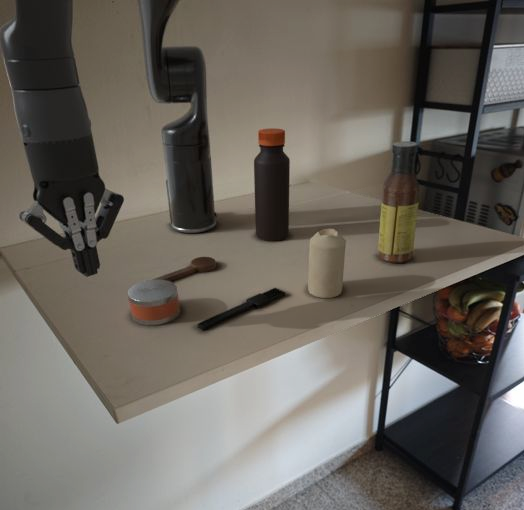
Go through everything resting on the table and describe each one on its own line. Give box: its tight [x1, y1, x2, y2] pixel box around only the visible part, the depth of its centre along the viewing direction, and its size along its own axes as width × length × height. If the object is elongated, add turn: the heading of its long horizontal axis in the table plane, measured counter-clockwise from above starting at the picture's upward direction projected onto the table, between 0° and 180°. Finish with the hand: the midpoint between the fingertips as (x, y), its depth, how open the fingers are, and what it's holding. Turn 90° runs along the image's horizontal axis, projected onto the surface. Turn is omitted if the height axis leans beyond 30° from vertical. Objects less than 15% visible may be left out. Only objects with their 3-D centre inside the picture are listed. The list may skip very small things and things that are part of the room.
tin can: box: [127, 279, 181, 326], centre depth 75 cm, size 7×7×4 cm
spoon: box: [151, 256, 217, 282], centre depth 86 cm, size 16×4×1 cm, turn 133°
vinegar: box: [253, 127, 291, 242], centre depth 97 cm, size 7×7×20 cm
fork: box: [196, 287, 286, 332], centre depth 76 cm, size 16×3×1 cm, turn 133°
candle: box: [307, 228, 347, 299], centre depth 78 cm, size 6×6×10 cm
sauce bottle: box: [377, 140, 420, 264], centre depth 86 cm, size 6×6×20 cm
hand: (89, 273), depth 65 cm, fingers closed
